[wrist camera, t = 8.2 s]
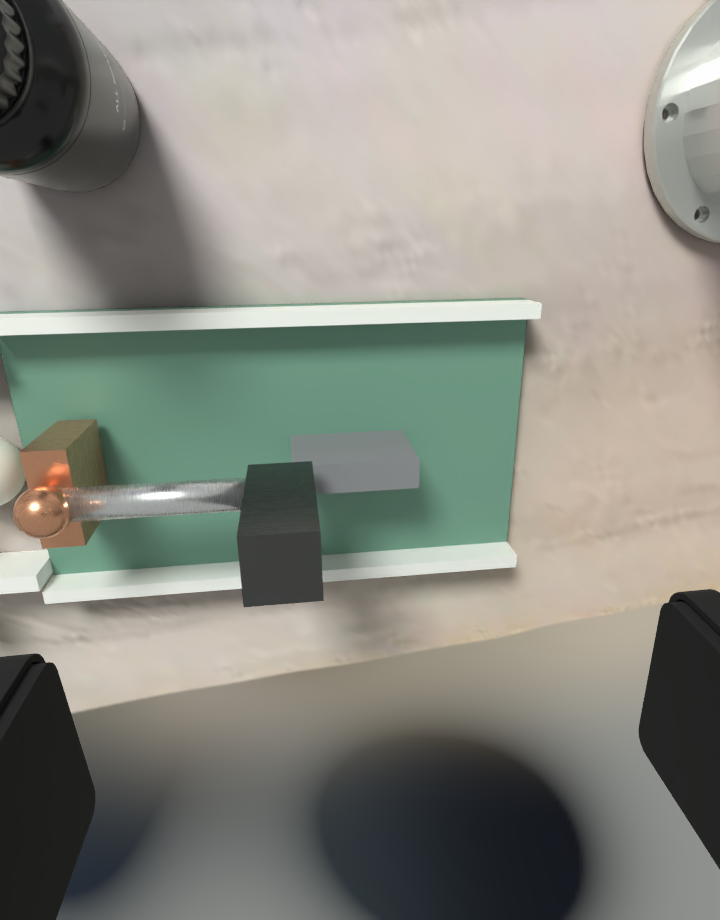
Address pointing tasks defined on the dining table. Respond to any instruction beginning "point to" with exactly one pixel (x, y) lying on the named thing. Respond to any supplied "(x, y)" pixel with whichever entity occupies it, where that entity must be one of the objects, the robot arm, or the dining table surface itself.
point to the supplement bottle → (61, 100)
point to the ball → (10, 471)
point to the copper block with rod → (178, 509)
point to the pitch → (280, 431)
